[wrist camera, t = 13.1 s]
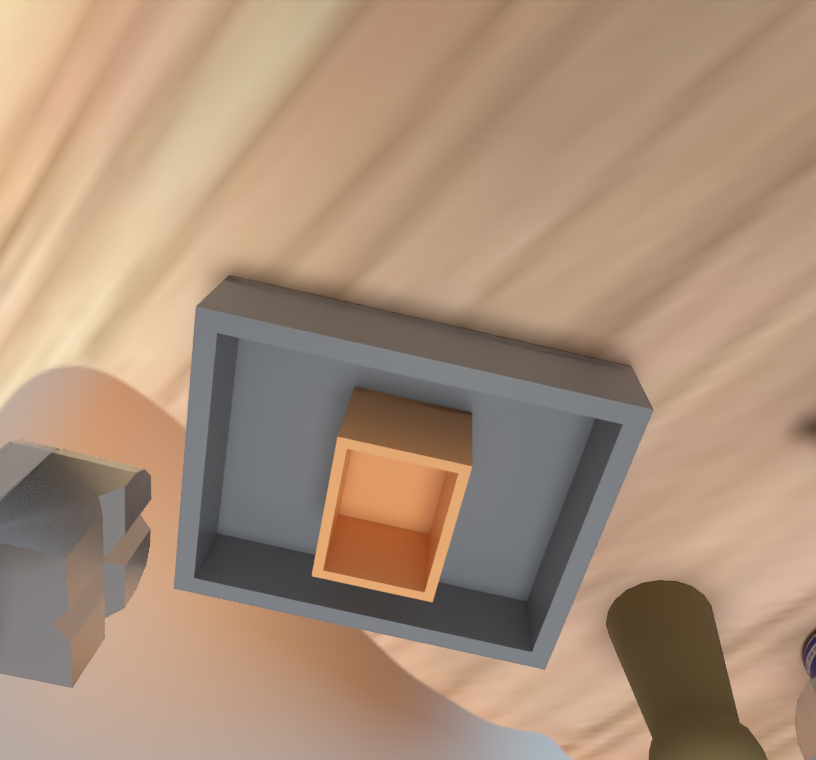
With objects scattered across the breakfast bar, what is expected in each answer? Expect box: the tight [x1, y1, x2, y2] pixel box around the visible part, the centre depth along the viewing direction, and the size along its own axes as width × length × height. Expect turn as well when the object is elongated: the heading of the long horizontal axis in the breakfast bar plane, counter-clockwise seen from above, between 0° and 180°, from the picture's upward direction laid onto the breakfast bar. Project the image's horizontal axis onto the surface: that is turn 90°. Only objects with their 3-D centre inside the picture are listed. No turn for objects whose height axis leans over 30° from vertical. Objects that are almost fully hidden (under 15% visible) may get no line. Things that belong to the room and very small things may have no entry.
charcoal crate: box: [174, 276, 653, 669], centre depth 35 cm, size 20×16×4 cm
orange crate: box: [312, 387, 472, 602], centre depth 34 cm, size 6×8×5 cm
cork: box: [606, 580, 768, 760], centre depth 36 cm, size 6×6×11 cm
